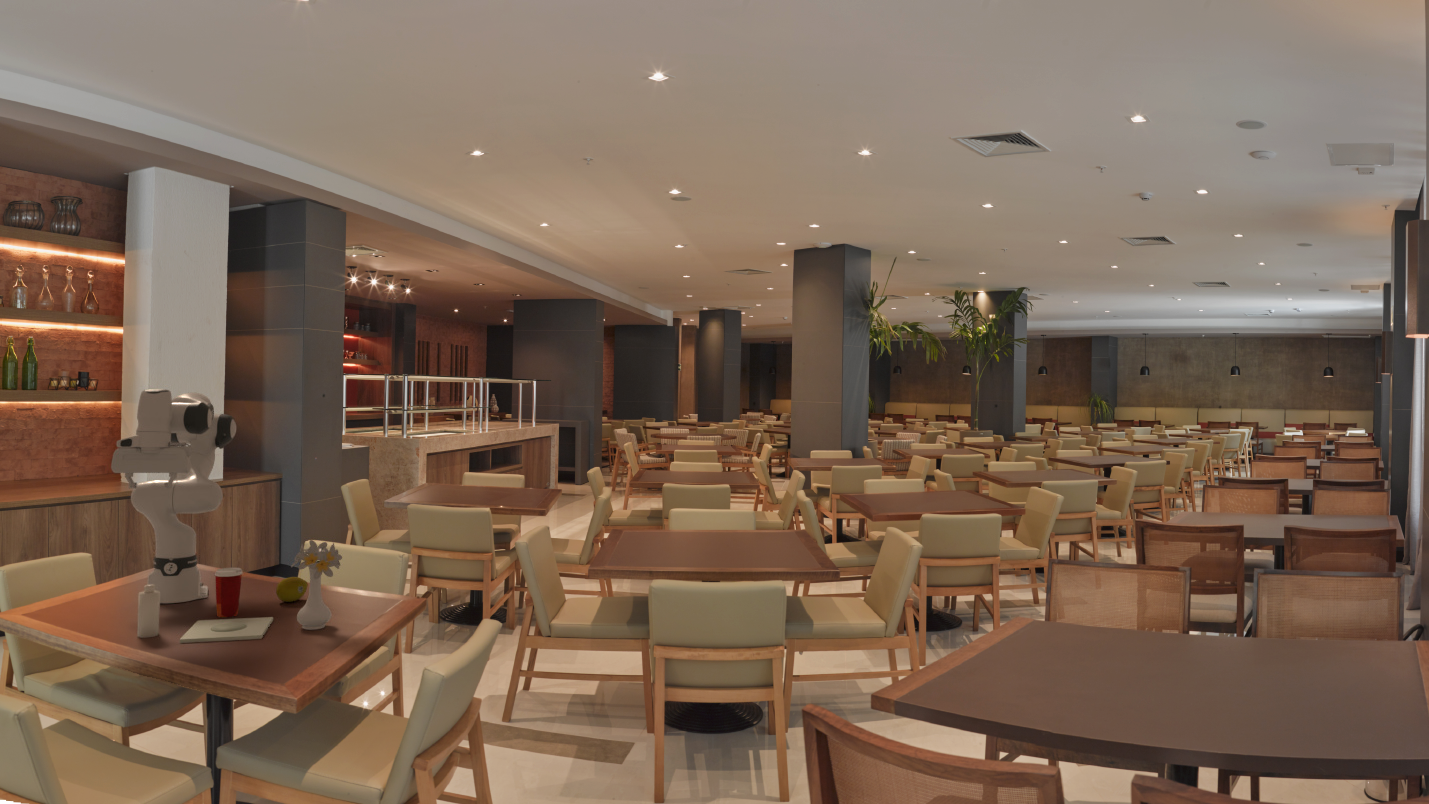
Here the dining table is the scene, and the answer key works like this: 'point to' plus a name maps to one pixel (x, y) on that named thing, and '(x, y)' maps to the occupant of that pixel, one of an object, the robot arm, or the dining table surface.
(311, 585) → the flower vase
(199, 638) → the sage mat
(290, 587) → the lemon
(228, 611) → the paper cup
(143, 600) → the cream bottle
